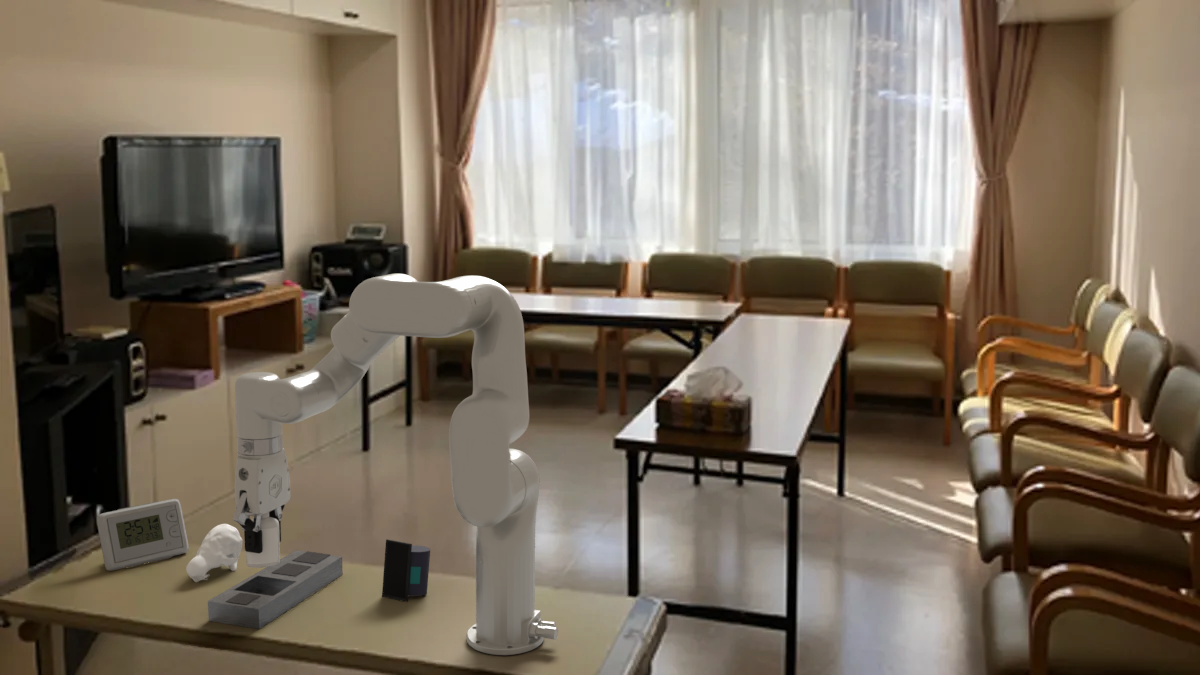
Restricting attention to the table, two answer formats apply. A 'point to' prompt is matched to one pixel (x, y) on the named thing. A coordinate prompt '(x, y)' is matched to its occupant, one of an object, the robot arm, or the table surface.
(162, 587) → the table surface
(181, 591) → the table surface
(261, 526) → the eye dropper bottle
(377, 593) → the table surface
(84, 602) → the table surface
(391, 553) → the speaker
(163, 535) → the digital clock
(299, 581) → the rail
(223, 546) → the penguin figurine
